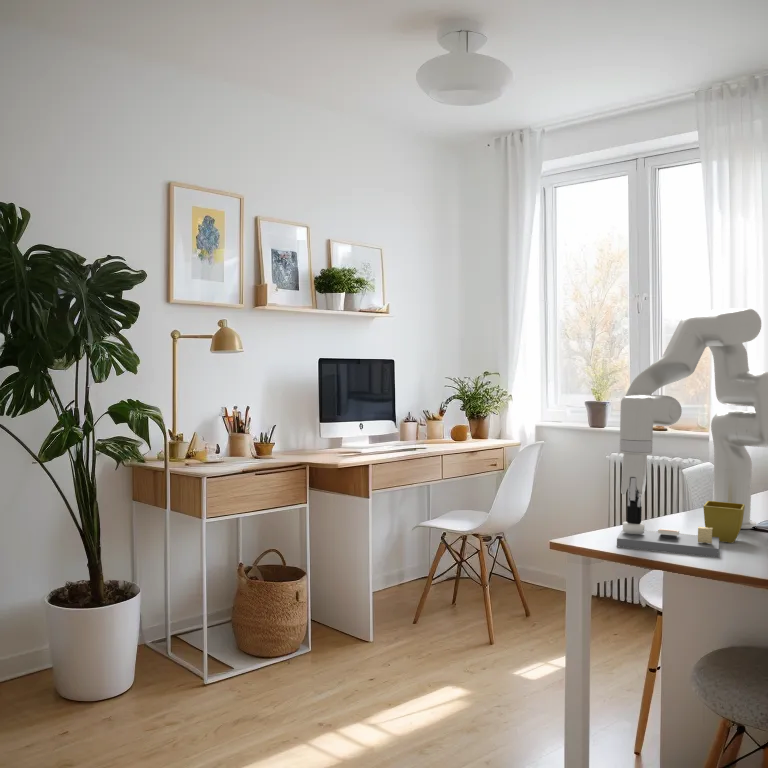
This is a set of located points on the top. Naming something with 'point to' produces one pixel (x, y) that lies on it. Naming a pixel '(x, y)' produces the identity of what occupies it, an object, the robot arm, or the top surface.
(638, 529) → the push button
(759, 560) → the top surface
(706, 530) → the cream small block
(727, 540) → the flower pot
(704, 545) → the switch panel
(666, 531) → the rocker
